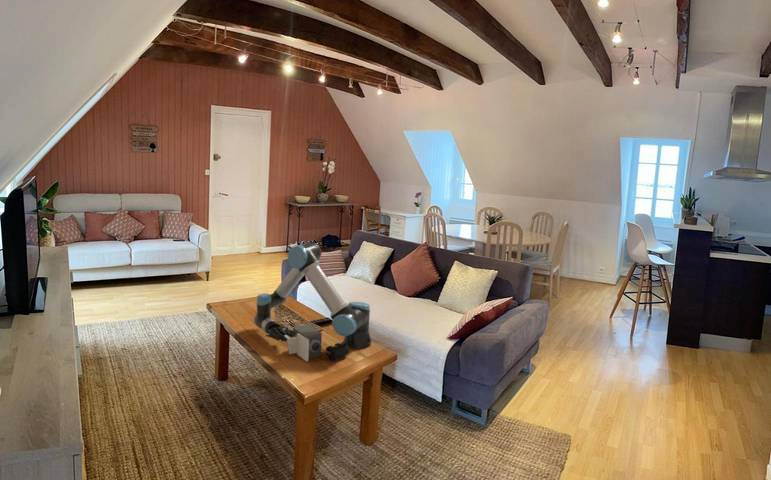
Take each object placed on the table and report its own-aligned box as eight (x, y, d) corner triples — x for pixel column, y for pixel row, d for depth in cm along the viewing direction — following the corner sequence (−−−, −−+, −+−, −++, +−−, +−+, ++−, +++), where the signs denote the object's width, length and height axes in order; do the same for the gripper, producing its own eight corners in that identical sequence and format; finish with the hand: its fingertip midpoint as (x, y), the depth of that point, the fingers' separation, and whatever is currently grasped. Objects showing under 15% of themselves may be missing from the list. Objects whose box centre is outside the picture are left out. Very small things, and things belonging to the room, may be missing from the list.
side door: (298, 353, 250) (299, 333, 248) (308, 360, 242) (309, 339, 240) (288, 356, 246) (289, 335, 244) (298, 363, 238) (298, 342, 237)
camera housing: (307, 345, 262) (308, 324, 259) (323, 356, 249) (323, 334, 247) (292, 349, 256) (292, 327, 254) (307, 360, 243) (308, 337, 241)
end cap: (334, 363, 242) (335, 350, 241) (324, 359, 247) (325, 346, 246) (348, 357, 250) (349, 345, 249) (339, 353, 254) (339, 341, 253)
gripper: (282, 331, 270) (302, 346, 252) (259, 336, 262) (279, 351, 244) (282, 318, 269) (302, 332, 251) (259, 322, 261) (279, 337, 243)
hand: (291, 341), depth 248 cm, fingers closed
